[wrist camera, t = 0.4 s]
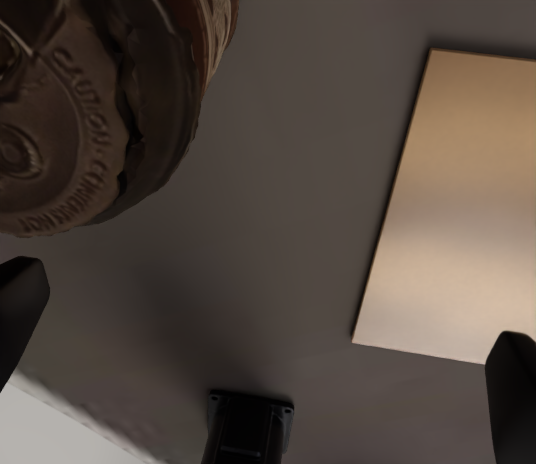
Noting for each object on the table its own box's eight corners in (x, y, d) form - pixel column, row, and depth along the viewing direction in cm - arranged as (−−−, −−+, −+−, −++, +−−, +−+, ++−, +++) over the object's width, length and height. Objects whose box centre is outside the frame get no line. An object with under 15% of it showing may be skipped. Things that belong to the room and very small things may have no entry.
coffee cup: (251, -164, 16) (62, -282, 6) (288, 76, 21) (223, 256, 10) (35, -106, 18) (-402, -115, 8) (113, 101, 23) (-92, 273, 12)
